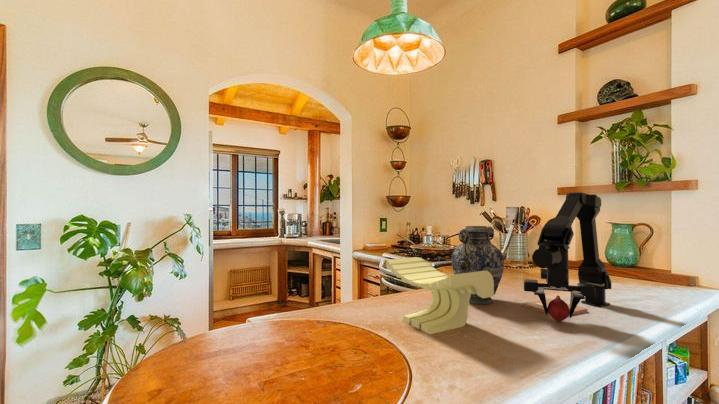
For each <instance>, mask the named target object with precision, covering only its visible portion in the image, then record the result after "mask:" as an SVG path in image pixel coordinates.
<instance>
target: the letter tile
mask: <svg viewBox="0 0 719 404" xmlns="http://www.w3.org/2000/svg"><path fill="white" fill-rule="evenodd" d="M553 299H554V298H553ZM553 299H552V298H546V304H547V307H548V304H549V303H550V301H552V300H553ZM565 303H566V304H567V305H568V307H569V308H570V303H567V302H565ZM521 306H522V307H525V308H526V309H530V310H533V311H536V312H541V313H543V314H546V313H545V310H544V308H543V305H542V302H541V300H540V299H538V300H533V301H532V300H531V301H526V302H521ZM585 313H588V308H586V307H582V306H579V305H577V306H576V308H575V310H574V313H573V315H578V314H585ZM548 315H549V313H548ZM573 315H572V316H573Z"/></svg>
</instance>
